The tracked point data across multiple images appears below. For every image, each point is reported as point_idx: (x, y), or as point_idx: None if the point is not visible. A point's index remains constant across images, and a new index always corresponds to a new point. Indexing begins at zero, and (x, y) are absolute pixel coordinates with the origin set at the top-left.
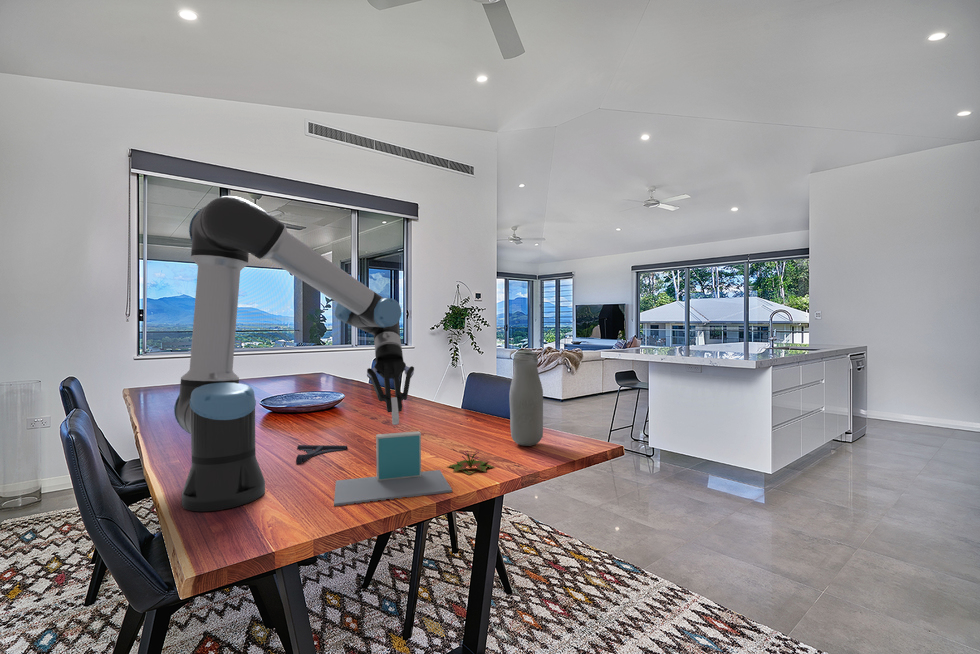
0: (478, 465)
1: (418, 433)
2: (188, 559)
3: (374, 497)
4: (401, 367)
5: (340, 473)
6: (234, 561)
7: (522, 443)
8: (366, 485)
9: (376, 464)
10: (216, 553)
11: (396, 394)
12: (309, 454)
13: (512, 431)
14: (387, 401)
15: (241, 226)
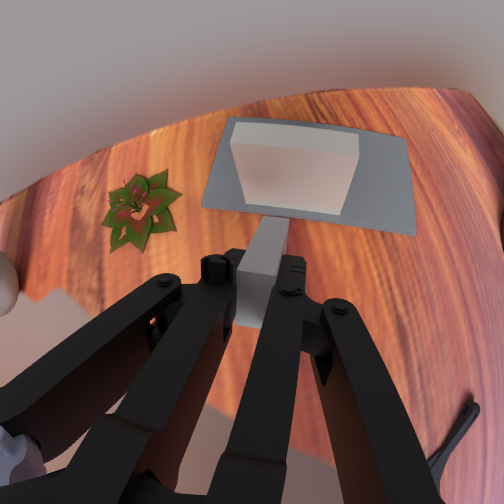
0: (124, 209)
1: (241, 123)
2: (487, 112)
3: (350, 131)
4: (21, 495)
5: (406, 295)
6: (455, 91)
7: (17, 275)
8: (361, 182)
9: (344, 200)
10: (474, 109)
11: (229, 288)
12: (451, 440)
13: (6, 282)
14: (299, 284)
15: None
